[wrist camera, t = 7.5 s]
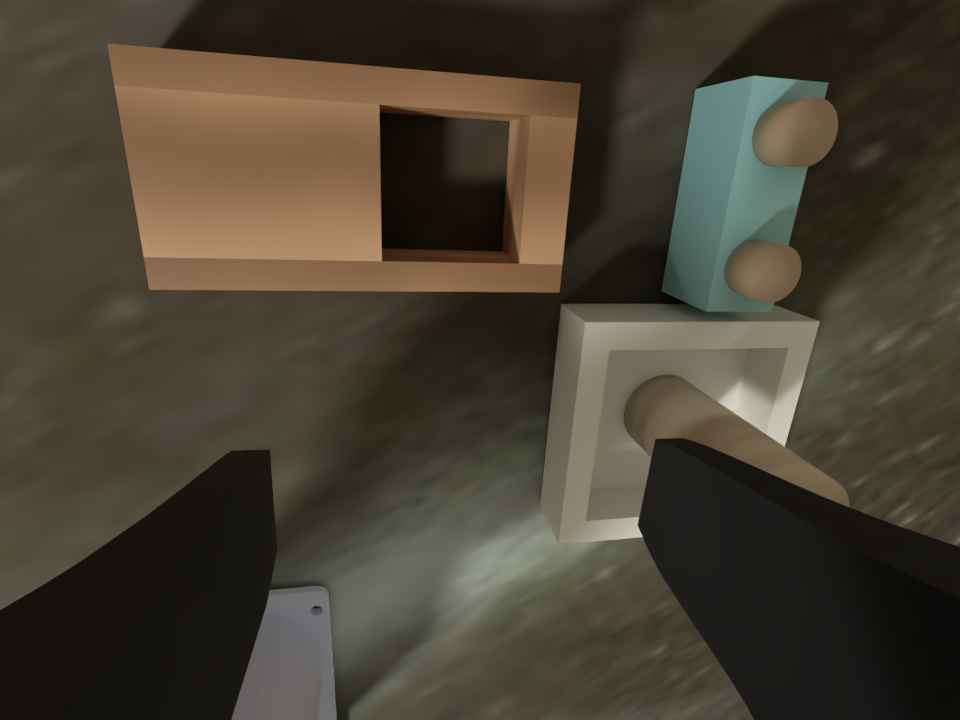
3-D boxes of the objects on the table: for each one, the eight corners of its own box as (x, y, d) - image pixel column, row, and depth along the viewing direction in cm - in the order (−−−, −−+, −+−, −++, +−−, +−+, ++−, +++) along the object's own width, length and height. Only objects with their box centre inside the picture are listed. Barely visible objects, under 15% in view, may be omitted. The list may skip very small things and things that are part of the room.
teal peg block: (719, 291, 21) (797, 321, 17) (661, 291, 20) (728, 321, 16) (760, 94, 18) (863, 76, 14) (695, 89, 18) (783, 68, 14)
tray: (725, 492, 24) (762, 526, 22) (540, 505, 23) (558, 544, 21) (772, 304, 21) (819, 321, 19) (561, 303, 20) (585, 322, 17)
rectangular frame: (537, 276, 19) (559, 292, 17) (180, 272, 17) (149, 289, 15) (553, 94, 17) (581, 83, 15) (149, 62, 15) (107, 43, 13)
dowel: (690, 441, 22) (834, 563, 16) (620, 449, 22) (738, 580, 15) (700, 371, 21) (860, 470, 14) (627, 378, 21) (758, 484, 14)
